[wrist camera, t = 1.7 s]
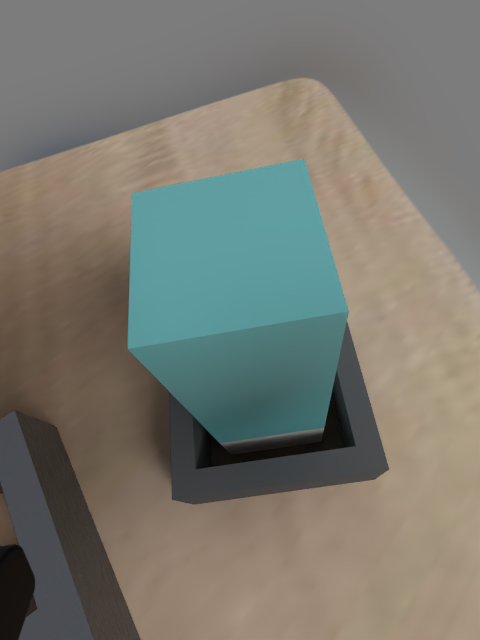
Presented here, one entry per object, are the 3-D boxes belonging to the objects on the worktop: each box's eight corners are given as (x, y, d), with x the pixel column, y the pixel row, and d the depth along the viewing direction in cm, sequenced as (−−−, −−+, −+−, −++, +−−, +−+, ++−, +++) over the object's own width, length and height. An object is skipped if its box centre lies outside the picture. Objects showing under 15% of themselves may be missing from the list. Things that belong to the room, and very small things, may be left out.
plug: (321, 441, 19) (348, 311, 8) (231, 454, 19) (127, 348, 8) (303, 357, 21) (304, 158, 10) (222, 370, 21) (132, 192, 10)
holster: (374, 479, 18) (389, 469, 15) (193, 504, 18) (172, 499, 15) (332, 319, 22) (336, 285, 19) (185, 343, 22) (167, 314, 19)
